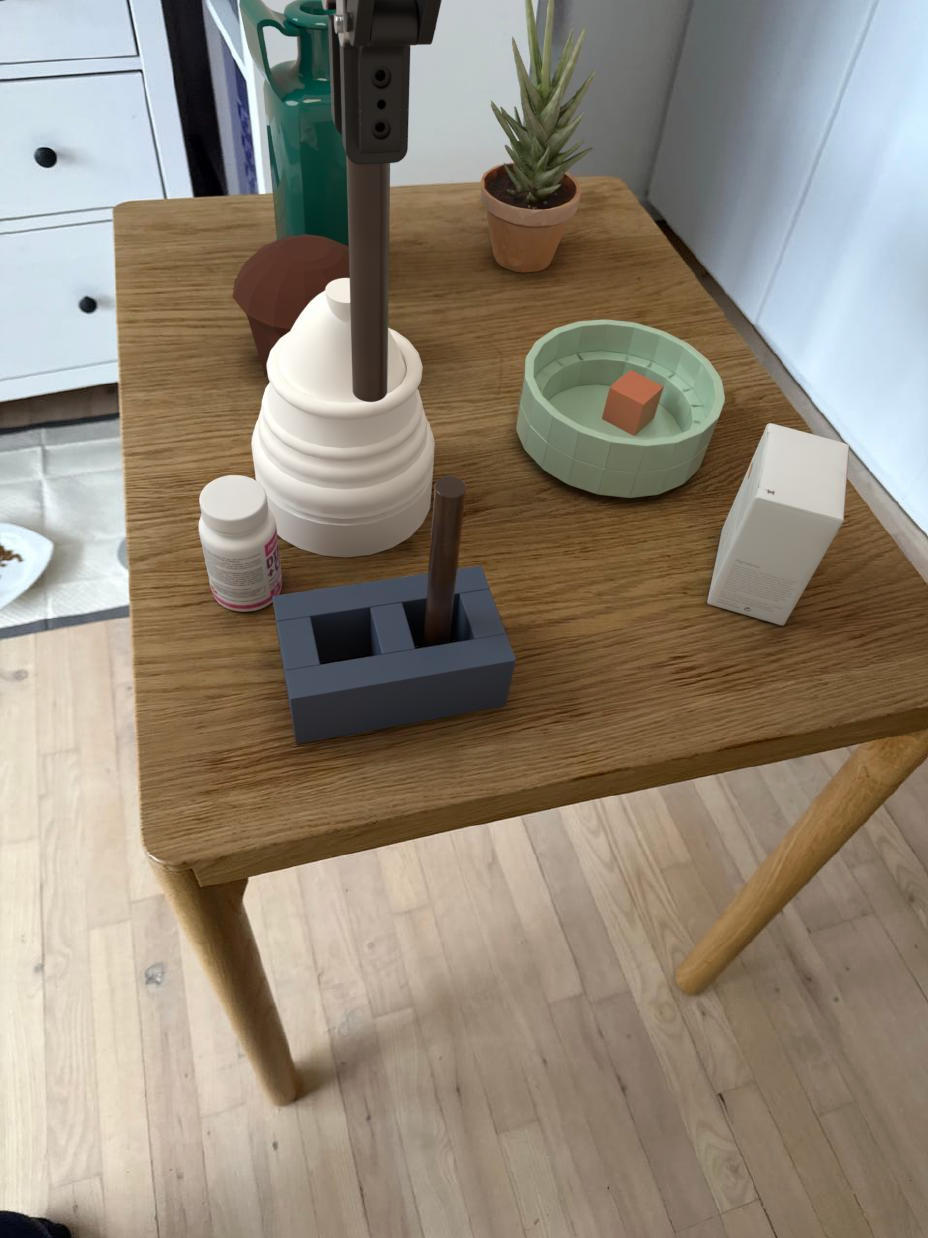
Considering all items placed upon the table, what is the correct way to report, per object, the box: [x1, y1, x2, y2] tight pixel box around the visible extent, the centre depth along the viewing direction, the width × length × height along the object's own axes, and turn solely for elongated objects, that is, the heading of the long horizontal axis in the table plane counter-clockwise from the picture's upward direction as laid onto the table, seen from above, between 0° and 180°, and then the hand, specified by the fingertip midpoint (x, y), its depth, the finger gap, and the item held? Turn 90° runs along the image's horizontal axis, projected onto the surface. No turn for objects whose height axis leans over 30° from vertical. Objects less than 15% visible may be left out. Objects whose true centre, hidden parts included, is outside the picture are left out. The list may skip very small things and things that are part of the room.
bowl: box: [515, 318, 726, 499], centre depth 71 cm, size 15×15×6 cm
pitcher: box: [238, 0, 349, 247], centre depth 76 cm, size 10×8×22 cm
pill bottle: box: [198, 474, 283, 613], centre depth 57 cm, size 5×5×8 cm
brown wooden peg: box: [422, 475, 467, 648], centre depth 51 cm, size 2×2×16 cm
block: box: [602, 370, 663, 436], centre depth 72 cm, size 3×3×3 cm
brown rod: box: [346, 154, 391, 402], centre depth 35 cm, size 2×2×16 cm
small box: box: [706, 422, 851, 626], centre depth 61 cm, size 8×6×10 cm
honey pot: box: [250, 278, 436, 559], centre depth 60 cm, size 13×13×18 cm
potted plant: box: [480, 0, 597, 274], centre depth 80 cm, size 10×10×25 cm
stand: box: [272, 565, 517, 745], centre depth 55 cm, size 8×13×5 cm, turn 105°
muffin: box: [232, 234, 350, 377], centre depth 73 cm, size 12×11×10 cm
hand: (368, 142), depth 32 cm, fingers closed on brown rod, 1 cm apart
